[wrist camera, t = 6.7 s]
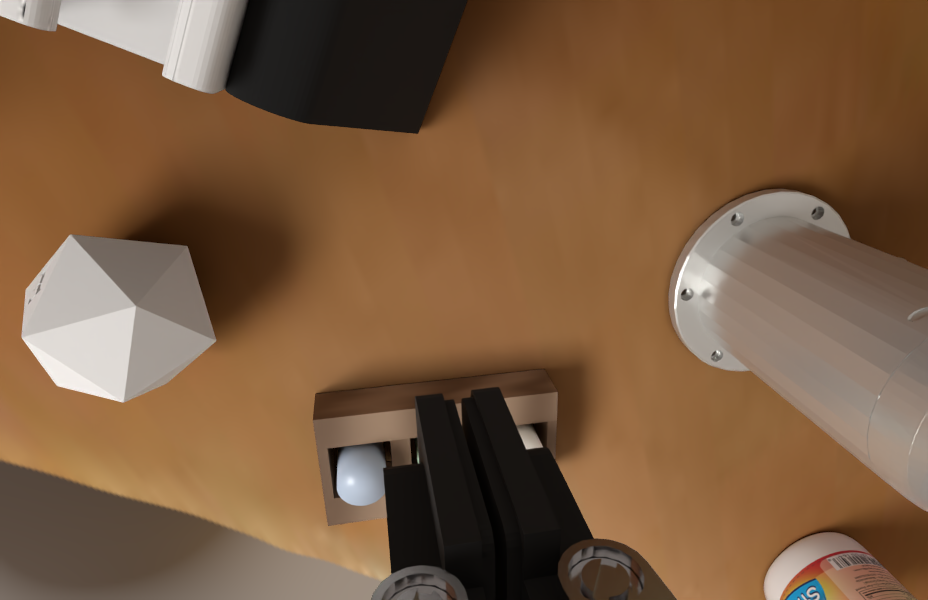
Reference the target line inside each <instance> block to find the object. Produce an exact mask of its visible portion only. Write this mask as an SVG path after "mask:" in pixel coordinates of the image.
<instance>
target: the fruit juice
mask: <svg viewBox="0 0 928 600" xmlns="http://www.w3.org/2000/svg"><path fill="white" fill-rule="evenodd" d="M764 594H765V597H766V600H917V599H916V598H915V597H914V596H913V595H912V594H911V593H910V592H909V591H908V590H907V589H906V588H905V587H904V586H903V585H902V584H901V583H900V582H899V581H898V580H897V579H896V578H894V577H893V576H892V575H891V574H890V573H889V572H888V571H887V570H886V569H885V568H884V567H883V566H882V565H881V564H880V563H879V562H878V561H877V560H876V559H875V558H874V557H873V556H872V555H871V554H870V553H869V552H868V551H867V550H866V549H865V548H864V547H863V546H862V545H860V544H859V543H858V542H857V541H855V540H854V539H852V538H850V537H848V536H846V535H844V534H841V533H836V532H824V533H818V534H814V535H811V536H808V537H805V538H803V539H801V540H799V541H797V542H795V543H794V544H792V545H791V546H789V547H788V548H787V549H785V550H784V551H783V552H782V553H781V554H780V555H779V556H778V557H777V558H776V559H775V561H774V562H773V563H772V565H771V566H770V568H769V570H768V572H767V574H766V577H765V581H764Z"/></svg>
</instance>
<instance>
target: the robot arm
mask: <svg viewBox="0 0 928 600" xmlns="http://www.w3.org/2000/svg"><path fill="white" fill-rule="evenodd" d="M669 313H670V317H671V321H672V325H673V327H674V329H675V331H676V333H677V335H678V337H679V339H680V340H681V341H682V342H683V344H684V345H685V346H686V347H687V348H688V349H689V350H690V351H691V352H692V353H693V354H694V355H696V356H697V357H698V358H699V359H700V360H702V361H704V362H705V363H707V364H709V365H711V366H713V367H717V368H720V369H724V370H729V371H751V372H753V373H754V374H755V375H756V376H758V377H759V378H760V379H761V380H762V381H764V382H765V383H766V384H767V385H768V386H770V387H771V388H772V389H773V390H775V391H776V392H777V393H778V394H779V395H781V396H782V397H783V398H784V399H786V400H787V401H788V402H789V403H790V404H792V405H793V406H794V407H795V408H796V409H798V410H799V411H800V412H801V413H803V414H804V415H805V416H806V417H807V418H809V419H810V420H811V421H812V422H813V423H815V424H816V425H817V426H818V427H820V428H821V429H822V430H823V431H824V432H826V433H827V434H828V435H829V436H830V437H832V438H833V439H834V440H835V441H837V442H838V443H839V444H840V445H841V446H843V447H844V448H845V449H846V450H847V451H849V452H850V453H851V454H852V455H854V456H855V457H856V458H857V459H858V460H860V461H861V462H862V463H863V464H864V465H866V466H867V467H868V468H869V469H871V470H872V471H873V472H874V473H875V474H877V475H878V476H879V477H880V478H881V479H883V480H884V481H885V482H886V483H888V484H889V485H890V486H892V487H893V488H894V489H895V490H897V491H898V492H899V493H900V494H901V495H903V496H904V497H905V498H907V499H908V500H910V501H911V502H912V503H914V504H915V505H917V506H918V507H920V508H921V509H923V510H925V511H927V512H928V269H925V268H923V267H920V266H918V265H915V264H913V263H910V262H908V261H907V260H905V259H904V258H902V257H895V256H892V255H890V254H887V253H885V252H882V251H880V250H877V249H875V248H872V247H870V246H867V245H865V244H862V243H860V242H857V241H855V240H852V239H851V238H850V235H849V232H848V229H847V226H846V225H845V223H844V222H843V220H842V218H841V217H840V215H839V214H838V213H837V212H836V211H835V210H834V209H833V208H832V207H831V206H830V205H829V204H827V203H826V202H824V201H822V200H820V199H818V198H816V197H815V196H812V195H809V194H806V193H803V192H800V191H795V190H788V189H769V190H762V191H758V192H754V193H751V194H747V195H745V196H743V197H740V198H738V199H736V200H734V201H732V202H730V203H728V204H727V205H725V206H724V207H722V208H721V209H719V210H718V211H717V212H715V213H714V214H712V215H711V216H710V217H709V218H708V219H707V220H706V221H705V222H704V223H703V224H702V225H701V226H700V227H699V228H698V229H697V230H696V232H695V233H694V234H693V235H692V237H691V238H690V239H689V241H688V242H687V243H686V245H685V247H684V249H683V251H682V252H681V254H680V256H679V258H678V260H677V262H676V265H675V268H674V271H673V274H672V277H671V282H670V289H669ZM415 411H416V425H417V440H418V455H419V463H417V464H409V465H401V466H394V467H386V468H383V474H384V487H385V499H386V512H387V524H388V536H389V549H390V561H391V573H392V574H391V575H390V576H389V577H387V578H386V579H385V580H383V581H382V582H381V583H380V585H379V586H378V587H377V589H376V590H375V591H374V593H373V595H372V598H371V600H677V599H676V598H675V597H674V595H673V594H672V593H671V591H670V590H669V589H668V588H667V586H666V585H665V584H664V582H663V581H662V580H661V579H660V577H659V576H658V575H657V574H656V572H655V571H654V570H653V568H652V567H651V566H650V565H649V563H648V562H647V561H646V560H645V559H644V558H643V557H642V556H641V555H640V554H639V553H638V552H637V551H635V550H633V549H632V548H630V547H628V546H627V545H625V544H622V543H619V542H616V541H613V540H607V539H594V538H593V536H592V534H591V532H590V530H589V528H588V526H587V524H586V522H585V520H584V518H583V516H582V514H581V512H580V510H579V507H578V505H577V503H576V501H575V499H574V497H573V495H572V493H571V491H570V489H569V487H568V485H567V483H566V481H565V479H564V477H563V475H562V473H561V471H560V469H559V467H558V465H557V463H556V461H555V459H554V457H553V455H552V453H551V451H550V450H549V448H547V447H540V448H533V449H526V447H525V445H524V443H523V441H522V438H521V436H520V434H519V431H518V429H517V427H516V424H515V422H514V420H513V418H512V415H511V413H510V411H509V408H508V406H507V404H506V401H505V399H504V397H503V395H502V392H501V390H500V388H499V387H492V388H483V389H474V390H471V395H470V397H468V398H462V399H461V412H462V425H461V421H460V418H459V415H458V411H457V408H456V404H455V401H454V399H451V400H444V397H443V394H442V393H439V394H430V395H421V396H415Z"/></svg>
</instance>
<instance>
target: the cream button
mask: <svg viewBox="0 0 928 600" xmlns="http://www.w3.org/2000/svg"><path fill="white" fill-rule="evenodd" d="M516 427H517V429H518V431H519V434H520V436H521V438H522V441H523V443H524V445H525V447H526V449H533V448H540V447H543V446H542V444H541V442H540V440H539V438H538V436H537V434H536V431H535V429H534V427H533V425H532V424H523V425H516Z"/></svg>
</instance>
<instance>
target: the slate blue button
mask: <svg viewBox="0 0 928 600" xmlns="http://www.w3.org/2000/svg"><path fill="white" fill-rule="evenodd" d="M383 468H386V460H385V449H384V444H383V442H376V443H368V444H360V445H352V446H343V447H338V459H337V492H338V494H339V496H340V497H341V499H343V500H344V501H345V502H347V503H349V504H351V505H356V506H365V505H369V504H372V503H374V502H376V501H378V500H379V499H380V498H381V497H382V496H383V495H384V494H385V487H384V474H383Z"/></svg>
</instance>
